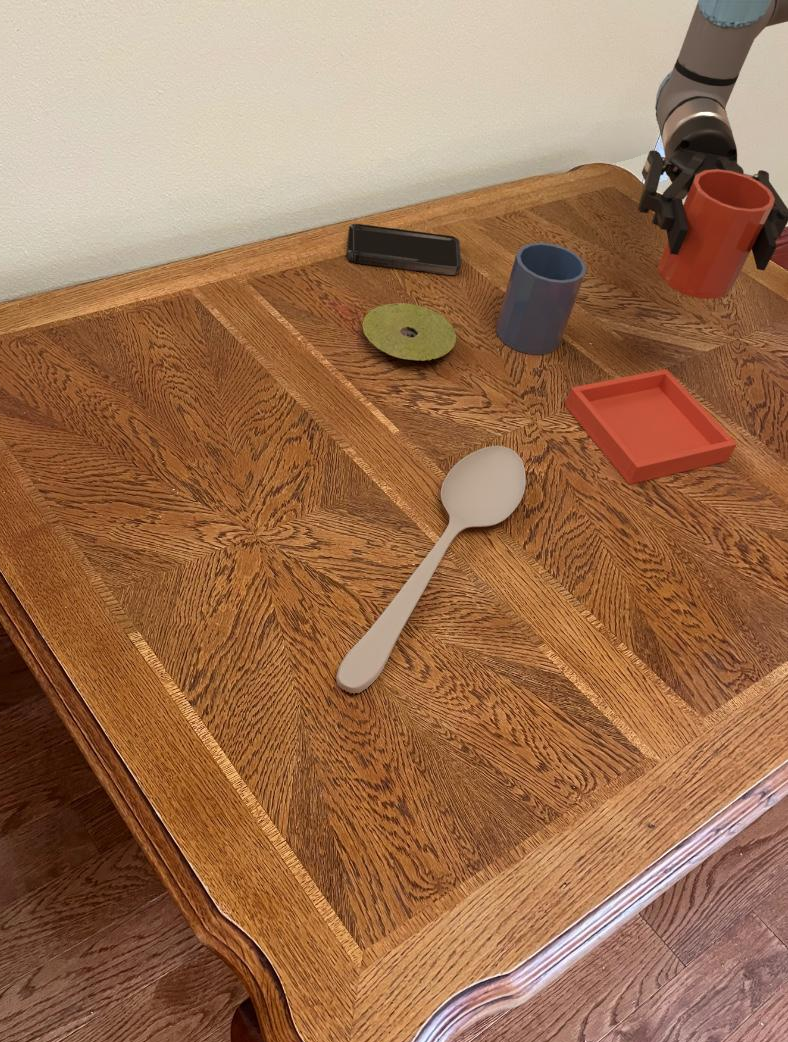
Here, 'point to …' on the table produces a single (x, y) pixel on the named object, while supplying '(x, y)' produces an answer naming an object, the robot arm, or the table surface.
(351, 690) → the spoon
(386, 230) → the phone
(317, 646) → the table surface
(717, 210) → the rust cup
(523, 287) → the blue cup
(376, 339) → the green grinding disc
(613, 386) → the red tray
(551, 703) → the table surface
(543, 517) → the table surface
